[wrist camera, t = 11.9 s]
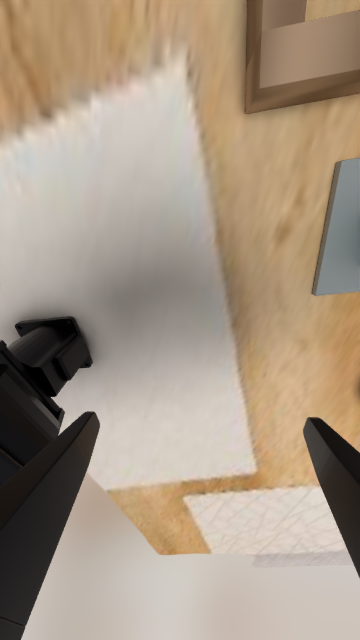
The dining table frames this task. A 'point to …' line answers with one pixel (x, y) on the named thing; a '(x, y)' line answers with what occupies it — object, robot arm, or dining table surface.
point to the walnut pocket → (299, 55)
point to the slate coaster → (341, 234)
